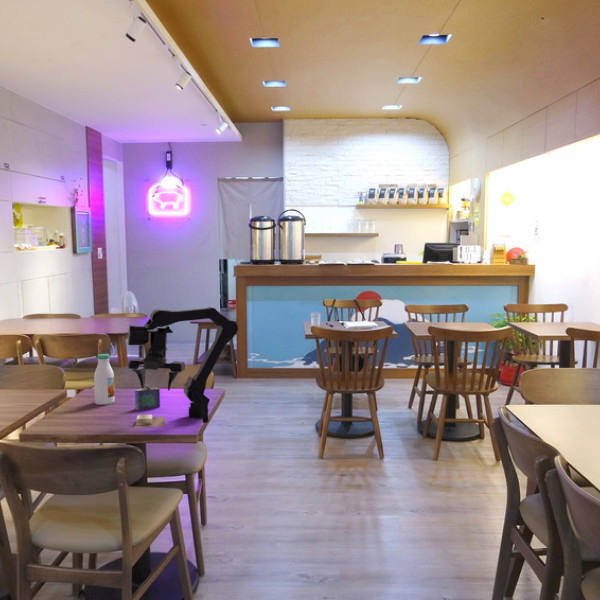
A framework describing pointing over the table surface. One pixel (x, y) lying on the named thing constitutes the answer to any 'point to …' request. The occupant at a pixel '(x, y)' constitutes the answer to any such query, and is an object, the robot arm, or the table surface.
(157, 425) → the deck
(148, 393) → the flask
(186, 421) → the table surface
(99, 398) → the milk bottle
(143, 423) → the coaster
